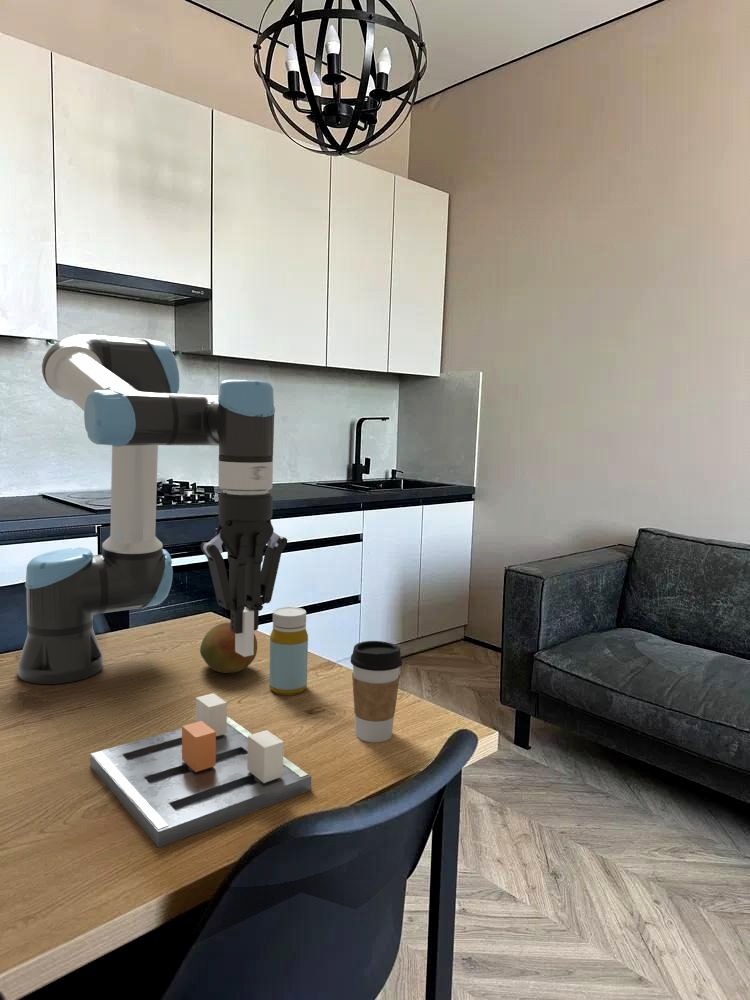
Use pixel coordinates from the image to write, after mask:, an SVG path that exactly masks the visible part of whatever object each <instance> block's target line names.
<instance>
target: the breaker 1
mask: <svg viewBox="0 0 750 1000" xmlns="http://www.w3.org/2000/svg"><path fill="white" fill-rule="evenodd" d="M227 712H228V703H227V701H226V700H224V699H223V698H221V697H220V696H218V695H217V694H215V693H213V692H212V693H210V694H205V695H202V696H201V695H200V696H197V697H195V722H198V721H203V722H204V723H205V724H206V725H208V726H209V727H210V728H212V729H213V730H214V731H215V732H216V736H220V735H223V734H227V716H228V713H227Z"/></svg>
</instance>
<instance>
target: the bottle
mask: <svg viewBox="0 0 750 1000" xmlns="http://www.w3.org/2000/svg"><path fill="white" fill-rule="evenodd" d="M306 627H307V611H306V610H305V609H304V608H301V607H297V606H296V607H295V606H284V607H283V606H282V607H278V608H276V609H274V610H273V611H272V631H271V633H270V634H269V635H270V636H269V637H270V639H269V676H268V677H269V678H268V680H269V682H268V683H269V685H268V686H269V688H270V690H271V691H272V692H273V693H275V694H277V695H282V696H293V695H295V696H296V695H298V694H300V693H302V692H304V690H306V689H307V686H308V660H309V659H308V658H309V657H308V655H309V653H308V651H309V650H308V649H309V648H308V647H309V634H308V631H307V628H306Z"/></svg>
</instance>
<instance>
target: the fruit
mask: <svg viewBox="0 0 750 1000" xmlns="http://www.w3.org/2000/svg"><path fill="white" fill-rule="evenodd" d="M230 623H231V621H230V622H224V623H219V624H217V625H215V626H213V627H211V628H210V630H209V631H207V633H206V634H205V635H204V636H203V639H202V641H201V644H200V648H199V652H200V656H201V657H202V659H203V660H204V662H205V663H206V665H207V666H208V667H210V668H211V669H212V670H213V671H216V672H219V673H223V674H233V673H238V672H241V671H243V670H245V669H246V668H247V667H249V666H250V665H251V664H252V662H253V661H254V660H255V658H256V657H257V654H258V653H257V652H258V640H257V637H256V635H255V633H254V655H251V656H246V657H244V656H242V655H240V654H238V653H237V652H235V633H234V632H232V631H231V628H230V625H231V624H230Z"/></svg>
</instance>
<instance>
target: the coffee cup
mask: <svg viewBox="0 0 750 1000" xmlns="http://www.w3.org/2000/svg"><path fill="white" fill-rule="evenodd" d="M350 664H352V675H351V676H352V677H351V678H352V679H351V681H352V693H353V707H354V708H353V710H354V723H355V724H354V725H355V727H354V728H355V729H354V730H355V735H356V737H357V738H358V739H359V740H361V741H364V742H367V743H382V742H386V741H388V740H390V739H391V738H392V735H393V729H394V728H393V727H394V720H395V713H396V712H395V711H396V705H397V699H398V692H399V684H400V678H401V677H400V667H401V666H402V664H403V658H402V655H401V647H400V646H399V645H397V644H394V643H392V642H387V641H383V640H382V641H381V640H368V641H367V640H366V641H361V642H358V643H356V644H355V645H354V646H353V650H352V654H351V656H350Z"/></svg>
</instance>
